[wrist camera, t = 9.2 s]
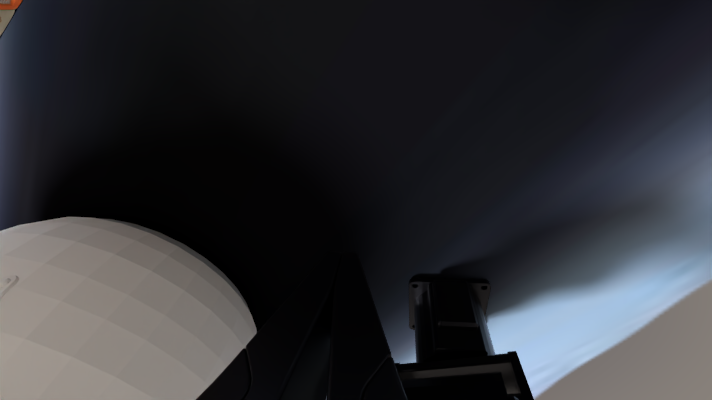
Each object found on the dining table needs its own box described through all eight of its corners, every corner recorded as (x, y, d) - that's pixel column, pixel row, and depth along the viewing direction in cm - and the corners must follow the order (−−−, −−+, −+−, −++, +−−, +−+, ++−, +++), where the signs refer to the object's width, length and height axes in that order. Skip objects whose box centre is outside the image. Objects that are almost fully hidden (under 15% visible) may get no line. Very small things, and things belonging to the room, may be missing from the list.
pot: (-51, 188, 27) (-584, 399, 12) (212, 166, 22) (-149, 468, 7) (124, 367, 42) (-21, 556, 27) (304, 376, 37) (242, 612, 22)
